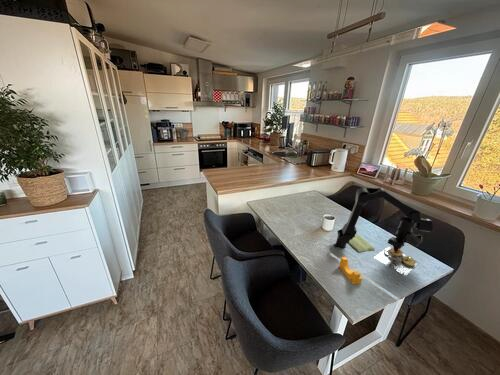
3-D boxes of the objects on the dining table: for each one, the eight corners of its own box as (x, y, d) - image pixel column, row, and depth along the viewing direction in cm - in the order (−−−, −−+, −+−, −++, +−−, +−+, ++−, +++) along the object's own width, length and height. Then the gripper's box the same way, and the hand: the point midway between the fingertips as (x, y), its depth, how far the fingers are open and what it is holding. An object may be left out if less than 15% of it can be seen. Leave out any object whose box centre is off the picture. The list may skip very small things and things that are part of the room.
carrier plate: (405, 277, 103) (408, 270, 101) (373, 259, 115) (375, 252, 113) (418, 263, 113) (421, 257, 111) (387, 247, 125) (389, 241, 123)
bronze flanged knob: (399, 258, 112) (402, 250, 110) (387, 252, 116) (390, 244, 114) (403, 254, 115) (406, 246, 113) (392, 248, 120) (395, 240, 117)
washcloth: (355, 235, 137) (356, 231, 136) (375, 252, 121) (377, 248, 120) (338, 237, 134) (339, 233, 133) (357, 255, 119) (358, 251, 117)
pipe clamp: (360, 283, 100) (363, 273, 97) (352, 284, 99) (355, 274, 96) (346, 265, 111) (348, 256, 108) (339, 266, 110) (341, 257, 107)
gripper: (416, 241, 98) (406, 265, 104) (429, 229, 108) (419, 252, 114) (391, 230, 106) (383, 253, 112) (406, 220, 116) (397, 241, 122)
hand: (396, 250), depth 115 cm, fingers closed on bronze flanged knob, 3 cm apart
